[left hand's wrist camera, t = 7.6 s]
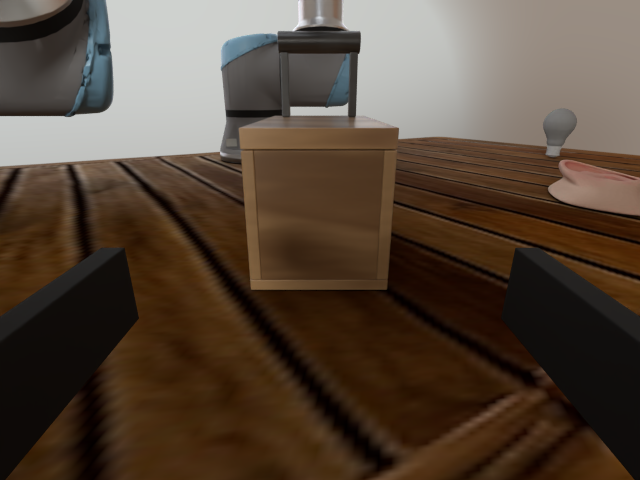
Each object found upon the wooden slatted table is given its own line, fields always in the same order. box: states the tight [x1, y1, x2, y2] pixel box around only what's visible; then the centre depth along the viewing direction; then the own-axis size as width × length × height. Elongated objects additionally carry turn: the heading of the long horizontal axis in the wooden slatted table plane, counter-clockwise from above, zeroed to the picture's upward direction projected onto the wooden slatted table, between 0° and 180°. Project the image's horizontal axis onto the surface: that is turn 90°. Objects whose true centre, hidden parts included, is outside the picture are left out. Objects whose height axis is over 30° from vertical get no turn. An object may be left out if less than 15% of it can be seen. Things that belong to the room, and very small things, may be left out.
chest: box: [241, 149, 397, 290], centre depth 31 cm, size 17×9×9 cm, turn 0°
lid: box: [239, 31, 399, 149], centre depth 28 cm, size 18×9×8 cm, turn 0°
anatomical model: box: [548, 160, 640, 216], centre depth 45 cm, size 13×4×12 cm
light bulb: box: [543, 109, 577, 157], centre depth 79 cm, size 6×6×10 cm
